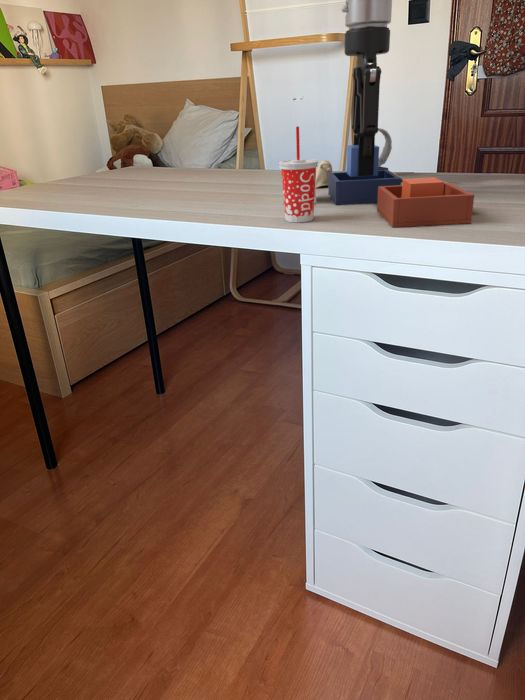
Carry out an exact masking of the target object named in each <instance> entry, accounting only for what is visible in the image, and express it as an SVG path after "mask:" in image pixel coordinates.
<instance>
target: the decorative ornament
mask: <svg viewBox="0 0 525 700" xmlns="http://www.w3.org/2000/svg"><path fill="white" fill-rule="evenodd" d="M329 173H333V166H332V164H331V162H330V161H329V160H326V159H323V160H320V162H319V163H318V164H317V167H316V189H317V188H320V187H325V186H327V187H328V177H329Z"/></svg>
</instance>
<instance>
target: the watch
mask: <svg viewBox="0 0 525 700" xmlns="http://www.w3.org/2000/svg"><path fill="white" fill-rule="evenodd" d="M378 132H379V133H381V134H382V136H383V137H384V140H385V141H384V146H383V148H382V151H381V153H380V154H379V162H378V170H389V167H386V166H385V167H384V166H383V165H386V164H385V163H387V160H388V159H389V157H390V154H391V152H392V148H393V146H392V144H393V142H392V136H391V134H390V133H389V131H387V130H386V129H384V128H381V127H380V128H379V127H378Z"/></svg>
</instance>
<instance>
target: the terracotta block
mask: <svg viewBox="0 0 525 700" xmlns="http://www.w3.org/2000/svg"><path fill="white" fill-rule="evenodd" d="M444 183H445V182H444V181H443V180H441V179H439V178H437V177H435V176H432V177H431V176H430V177H413V178H411V177H410V178H402V180H401V185H402V197H401V198H407V197H425V196H443V189H444Z"/></svg>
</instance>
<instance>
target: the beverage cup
mask: <svg viewBox="0 0 525 700" xmlns="http://www.w3.org/2000/svg"><path fill="white" fill-rule="evenodd" d="M295 140H296V142H295V143H296V144H295V145H296V147H295V148H296V158H295V159H287V160H281V161H279V162H278V166H279V167H278V168H279V169H280V172H281V184H282V195H283V205H284V218H285V221H286V222H288V223H306V222H307V223H308V222H311V221H313V220H314V219H315V218H314V217H315V216H314V214H315V203H314V198H315V178H316V170H317V167H318V164H319V161H318V159H314V158H301V156H300V155H301V154H300V153H301V152H300V151H301V150H300V147H301V146H300V126H295Z"/></svg>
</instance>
